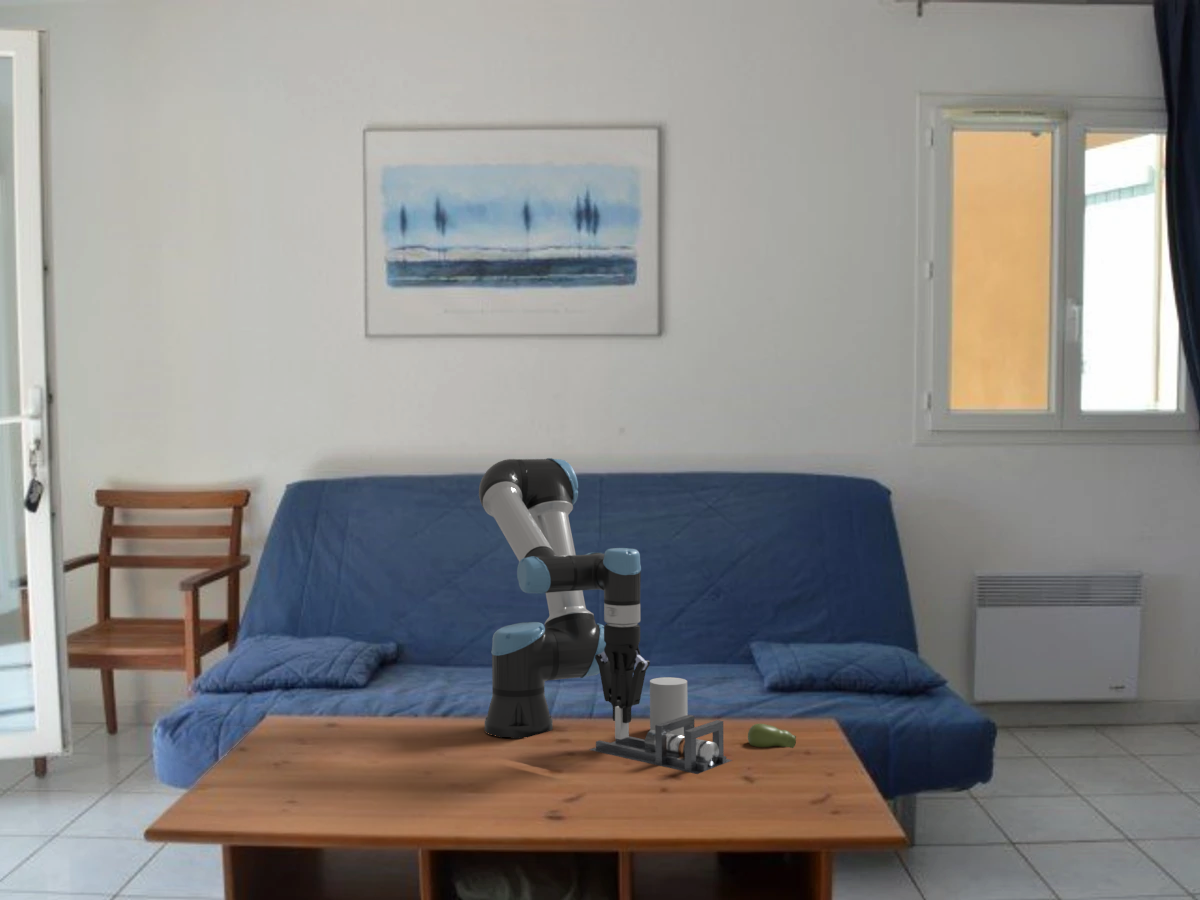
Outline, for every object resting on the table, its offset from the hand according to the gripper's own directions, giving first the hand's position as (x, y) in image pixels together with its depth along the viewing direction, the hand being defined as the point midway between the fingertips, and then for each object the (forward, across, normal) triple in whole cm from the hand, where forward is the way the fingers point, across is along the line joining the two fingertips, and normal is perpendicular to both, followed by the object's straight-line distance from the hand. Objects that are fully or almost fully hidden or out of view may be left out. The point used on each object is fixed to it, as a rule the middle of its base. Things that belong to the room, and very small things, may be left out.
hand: (621, 737), depth 226 cm
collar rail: (+3, +10, 0) cm, 10 cm away
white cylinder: (+3, 0, +16) cm, 16 cm away
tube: (+2, +15, 0) cm, 15 cm away
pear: (+3, +23, +21) cm, 32 cm away
